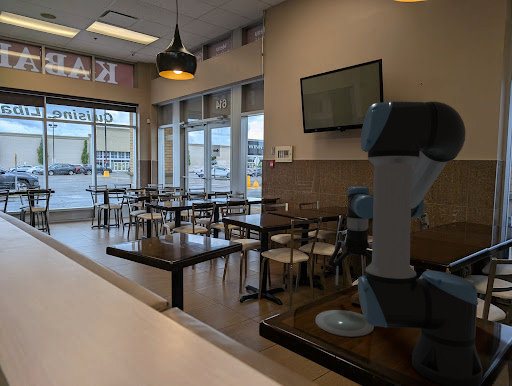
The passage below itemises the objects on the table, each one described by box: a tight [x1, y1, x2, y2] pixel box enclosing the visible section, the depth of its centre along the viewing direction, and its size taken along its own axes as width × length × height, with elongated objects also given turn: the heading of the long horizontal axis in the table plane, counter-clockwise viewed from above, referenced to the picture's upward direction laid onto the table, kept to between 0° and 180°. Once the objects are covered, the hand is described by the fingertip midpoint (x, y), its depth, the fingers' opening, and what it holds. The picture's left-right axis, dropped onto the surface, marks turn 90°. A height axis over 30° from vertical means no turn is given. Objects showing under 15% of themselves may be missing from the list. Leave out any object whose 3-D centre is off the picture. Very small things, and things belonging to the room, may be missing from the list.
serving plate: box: [315, 309, 375, 338], centre depth 112 cm, size 18×18×1 cm
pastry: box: [350, 291, 360, 305], centre depth 129 cm, size 9×7×4 cm
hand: (355, 285), depth 131 cm, fingers open, 13 cm apart
